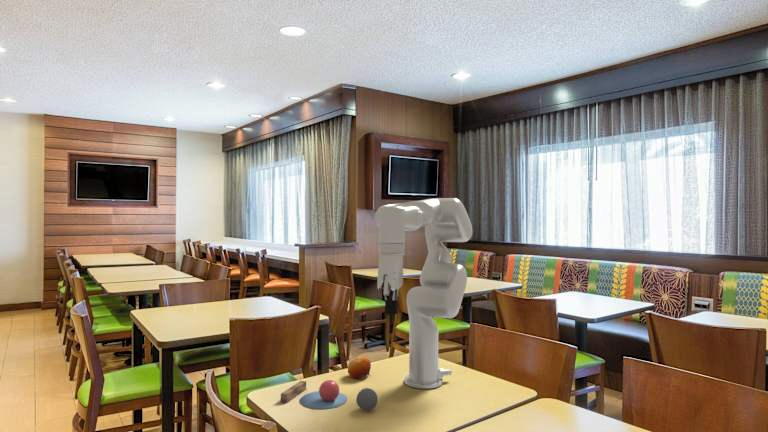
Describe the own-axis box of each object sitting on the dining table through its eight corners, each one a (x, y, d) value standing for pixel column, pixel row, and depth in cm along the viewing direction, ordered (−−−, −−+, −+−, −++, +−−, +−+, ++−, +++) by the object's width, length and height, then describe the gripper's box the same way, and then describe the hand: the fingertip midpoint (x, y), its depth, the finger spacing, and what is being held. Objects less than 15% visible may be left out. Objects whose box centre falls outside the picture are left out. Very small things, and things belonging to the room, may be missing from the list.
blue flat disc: (339, 389, 154) (339, 388, 154) (353, 405, 141) (353, 404, 141) (295, 394, 149) (295, 394, 149) (305, 411, 136) (305, 411, 136)
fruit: (373, 377, 161) (361, 356, 162) (353, 388, 162) (341, 366, 163) (378, 370, 169) (367, 349, 170) (359, 380, 170) (348, 359, 171)
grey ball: (368, 380, 140) (363, 393, 143) (355, 391, 135) (349, 405, 138) (384, 393, 137) (378, 407, 140) (371, 405, 133) (365, 419, 136)
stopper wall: (300, 388, 154) (300, 380, 154) (306, 389, 154) (306, 381, 154) (280, 402, 143) (280, 393, 143) (286, 403, 142) (286, 394, 142)
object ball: (337, 376, 148) (329, 393, 149) (320, 374, 145) (312, 392, 146) (345, 389, 143) (337, 406, 144) (328, 387, 140) (320, 405, 141)
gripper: (387, 247, 147) (387, 308, 147) (370, 250, 132) (369, 318, 132) (411, 248, 144) (411, 310, 144) (396, 251, 130) (396, 320, 130)
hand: (391, 313), depth 138 cm, fingers closed
